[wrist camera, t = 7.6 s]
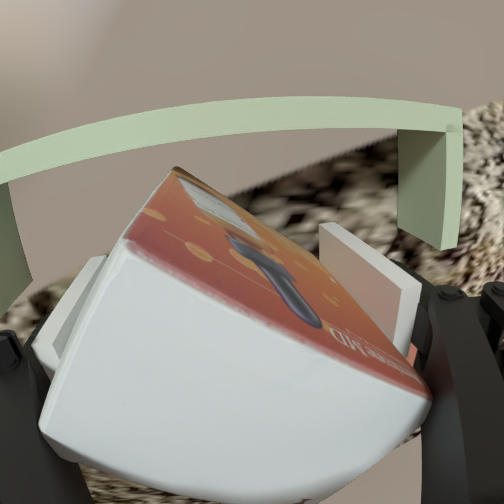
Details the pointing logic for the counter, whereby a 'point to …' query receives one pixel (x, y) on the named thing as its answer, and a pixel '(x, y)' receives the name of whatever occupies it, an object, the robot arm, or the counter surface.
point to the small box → (226, 363)
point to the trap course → (262, 120)
